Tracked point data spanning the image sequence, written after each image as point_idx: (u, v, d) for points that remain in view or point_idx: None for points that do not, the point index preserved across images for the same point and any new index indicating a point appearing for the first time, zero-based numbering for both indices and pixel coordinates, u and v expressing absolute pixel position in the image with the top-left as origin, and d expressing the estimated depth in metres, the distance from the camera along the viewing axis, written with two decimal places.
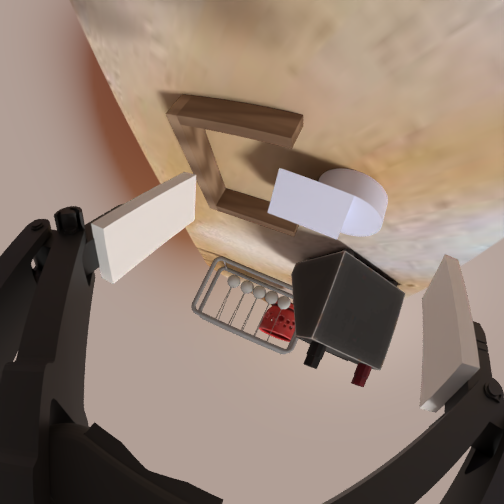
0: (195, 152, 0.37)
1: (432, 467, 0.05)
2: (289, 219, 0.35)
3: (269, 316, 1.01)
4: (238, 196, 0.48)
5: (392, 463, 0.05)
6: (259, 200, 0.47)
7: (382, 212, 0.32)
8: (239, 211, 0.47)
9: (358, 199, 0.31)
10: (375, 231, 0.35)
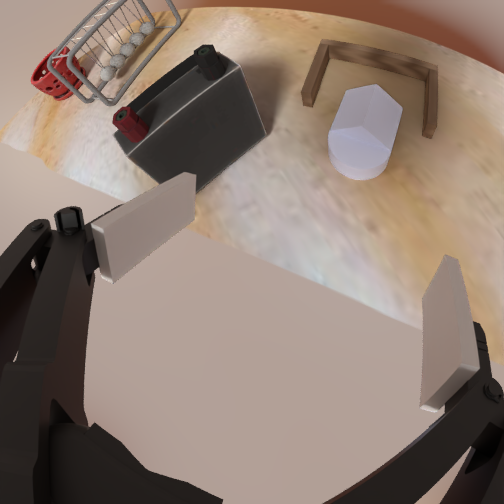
0: (398, 60, 0.40)
1: (432, 467, 0.05)
2: (373, 96, 0.36)
3: (75, 59, 0.57)
4: (326, 64, 0.45)
5: (392, 463, 0.05)
6: None
7: (368, 171, 0.38)
8: (323, 59, 0.43)
9: (388, 153, 0.37)
10: (346, 163, 0.38)
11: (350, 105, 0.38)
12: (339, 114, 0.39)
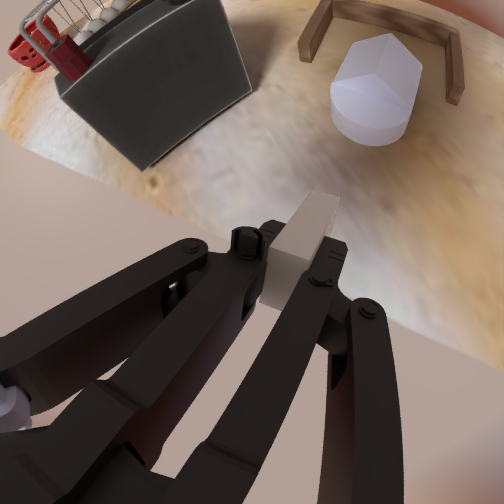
0: (414, 20, 0.29)
1: (290, 363, 0.07)
2: (388, 45, 0.25)
3: (54, 28, 0.45)
4: (328, 21, 0.35)
5: (247, 374, 0.07)
6: (323, 34, 0.35)
7: (384, 132, 0.27)
8: (326, 12, 0.32)
9: (408, 112, 0.26)
10: (354, 120, 0.27)
11: (358, 55, 0.27)
12: (345, 65, 0.28)
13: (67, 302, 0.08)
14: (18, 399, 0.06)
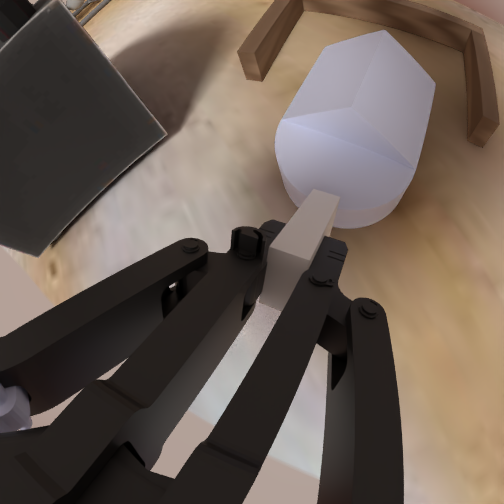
0: (419, 13, 0.19)
1: (290, 363, 0.07)
2: (379, 50, 0.15)
3: None
4: (296, 16, 0.25)
5: (247, 374, 0.07)
6: (286, 36, 0.25)
7: (362, 214, 0.17)
8: (289, 4, 0.22)
9: (408, 174, 0.16)
10: None
11: (329, 69, 0.17)
12: (305, 87, 0.18)
13: (67, 302, 0.08)
14: (18, 399, 0.06)
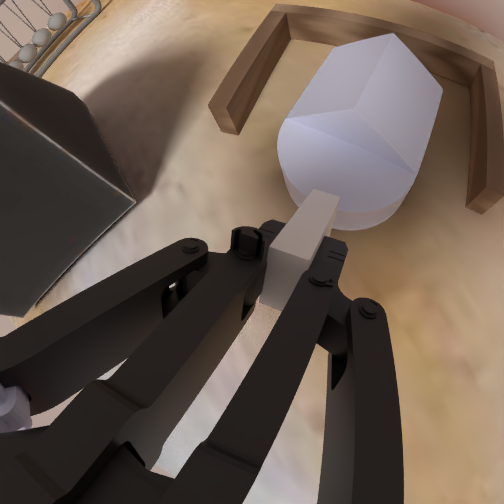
0: (422, 43, 0.18)
1: (290, 363, 0.07)
2: (385, 53, 0.15)
3: None
4: (281, 48, 0.24)
5: (247, 374, 0.07)
6: (268, 74, 0.24)
7: (361, 216, 0.17)
8: (271, 37, 0.21)
9: (409, 179, 0.16)
10: None
11: (335, 71, 0.17)
12: (311, 87, 0.18)
13: (67, 302, 0.08)
14: (18, 399, 0.06)
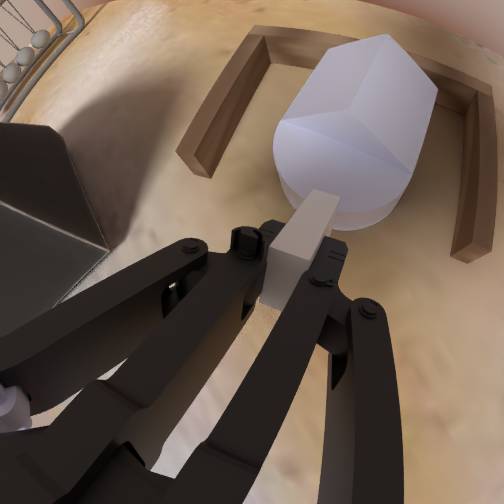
0: None
1: (290, 363, 0.07)
2: (380, 54, 0.15)
3: None
4: (259, 75, 0.23)
5: (247, 374, 0.07)
6: (244, 107, 0.23)
7: (357, 216, 0.17)
8: (246, 66, 0.21)
9: (405, 179, 0.16)
10: (306, 195, 0.17)
11: (330, 72, 0.18)
12: (306, 89, 0.19)
13: (67, 302, 0.08)
14: (18, 399, 0.06)
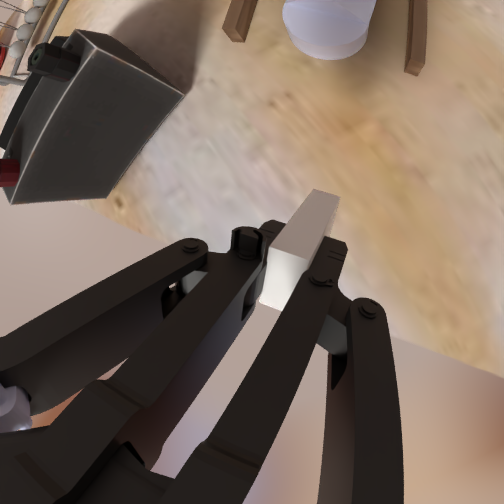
0: None
1: (290, 363, 0.07)
2: None
3: None
4: None
5: (247, 374, 0.07)
6: None
7: (338, 49, 0.25)
8: None
9: (363, 27, 0.23)
10: (307, 40, 0.24)
11: None
12: None
13: (67, 302, 0.08)
14: (18, 399, 0.06)
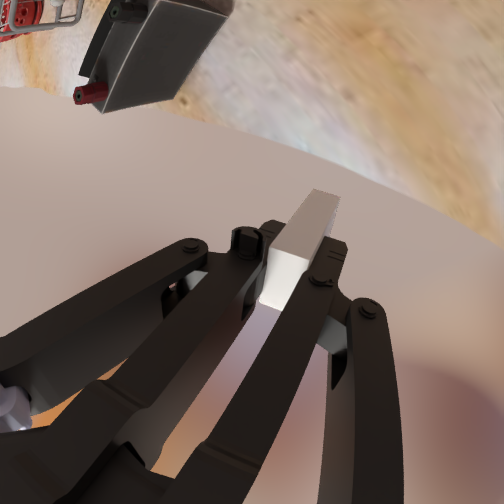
0: None
1: (290, 363, 0.07)
2: None
3: (22, 0, 0.36)
4: None
5: (247, 374, 0.07)
6: None
7: None
8: None
9: None
10: None
11: None
12: None
13: (67, 302, 0.08)
14: (18, 399, 0.06)
